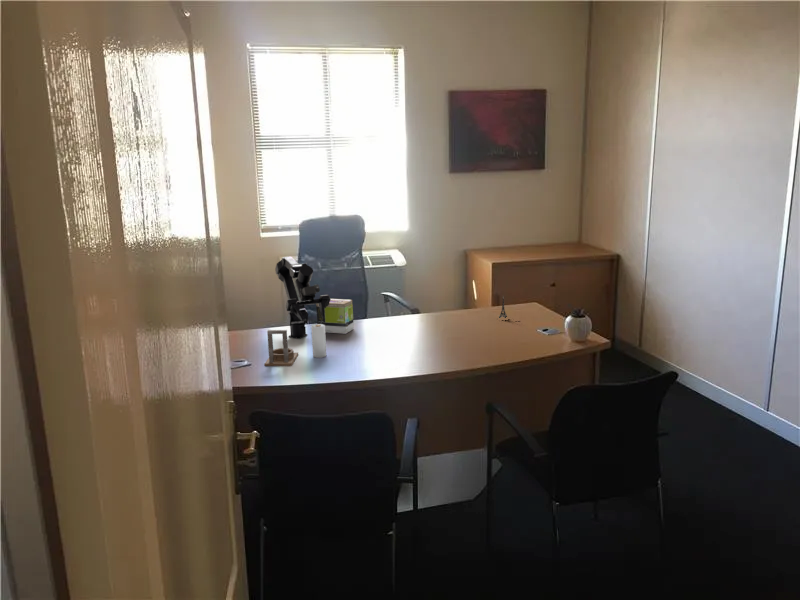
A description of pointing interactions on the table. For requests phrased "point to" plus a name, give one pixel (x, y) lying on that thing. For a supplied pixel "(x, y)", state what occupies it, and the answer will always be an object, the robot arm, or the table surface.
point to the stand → (280, 351)
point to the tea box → (337, 316)
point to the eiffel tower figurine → (503, 310)
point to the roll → (318, 340)
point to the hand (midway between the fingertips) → (313, 319)
